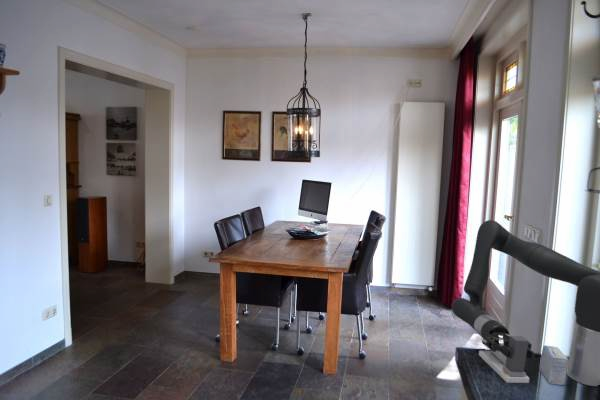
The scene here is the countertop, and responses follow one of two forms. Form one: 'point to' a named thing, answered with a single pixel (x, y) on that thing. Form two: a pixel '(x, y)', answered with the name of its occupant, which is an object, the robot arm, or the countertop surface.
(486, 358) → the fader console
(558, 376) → the medicine box
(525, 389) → the countertop surface
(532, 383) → the countertop surface
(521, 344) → the fader tab
